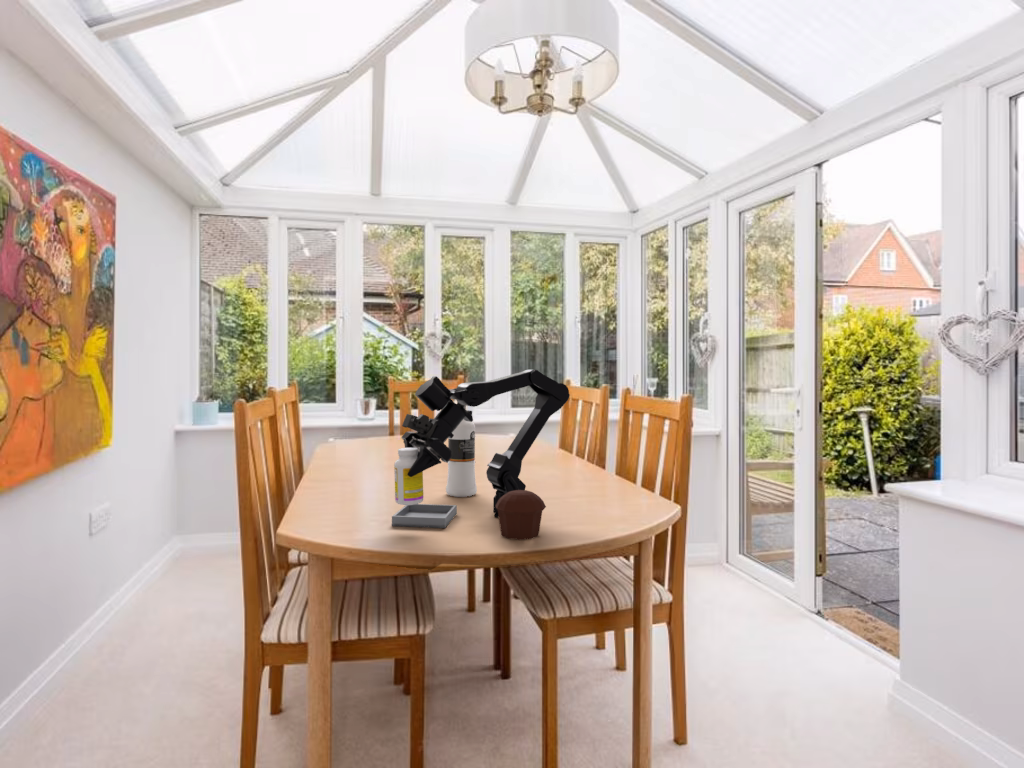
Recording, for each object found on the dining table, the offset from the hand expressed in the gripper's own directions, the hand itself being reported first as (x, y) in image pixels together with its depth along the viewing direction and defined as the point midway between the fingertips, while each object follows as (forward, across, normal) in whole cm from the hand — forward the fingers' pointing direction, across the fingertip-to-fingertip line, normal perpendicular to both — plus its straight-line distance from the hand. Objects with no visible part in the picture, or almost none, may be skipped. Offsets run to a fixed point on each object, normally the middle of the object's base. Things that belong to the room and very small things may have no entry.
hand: (403, 473), depth 141 cm
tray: (+4, -5, +15) cm, 16 cm away
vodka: (-10, -27, +30) cm, 42 cm away
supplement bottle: (+4, 0, +6) cm, 7 cm away
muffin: (-5, +17, +25) cm, 31 cm away
